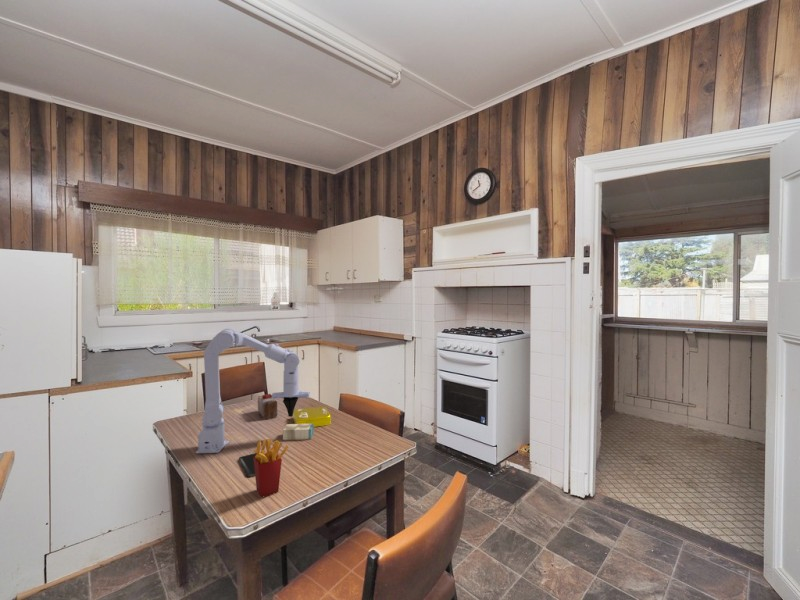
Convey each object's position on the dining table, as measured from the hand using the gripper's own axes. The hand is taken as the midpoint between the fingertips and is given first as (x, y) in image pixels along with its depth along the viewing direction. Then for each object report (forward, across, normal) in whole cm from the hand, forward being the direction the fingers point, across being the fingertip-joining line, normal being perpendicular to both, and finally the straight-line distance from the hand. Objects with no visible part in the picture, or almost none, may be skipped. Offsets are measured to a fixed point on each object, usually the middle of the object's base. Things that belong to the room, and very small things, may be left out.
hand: (290, 415), depth 141 cm
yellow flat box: (+9, -6, -17) cm, 20 cm away
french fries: (+9, -2, +38) cm, 39 cm away
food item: (+9, +17, -27) cm, 33 cm away
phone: (+9, +6, +23) cm, 26 cm away
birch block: (+6, +2, 0) cm, 7 cm away
